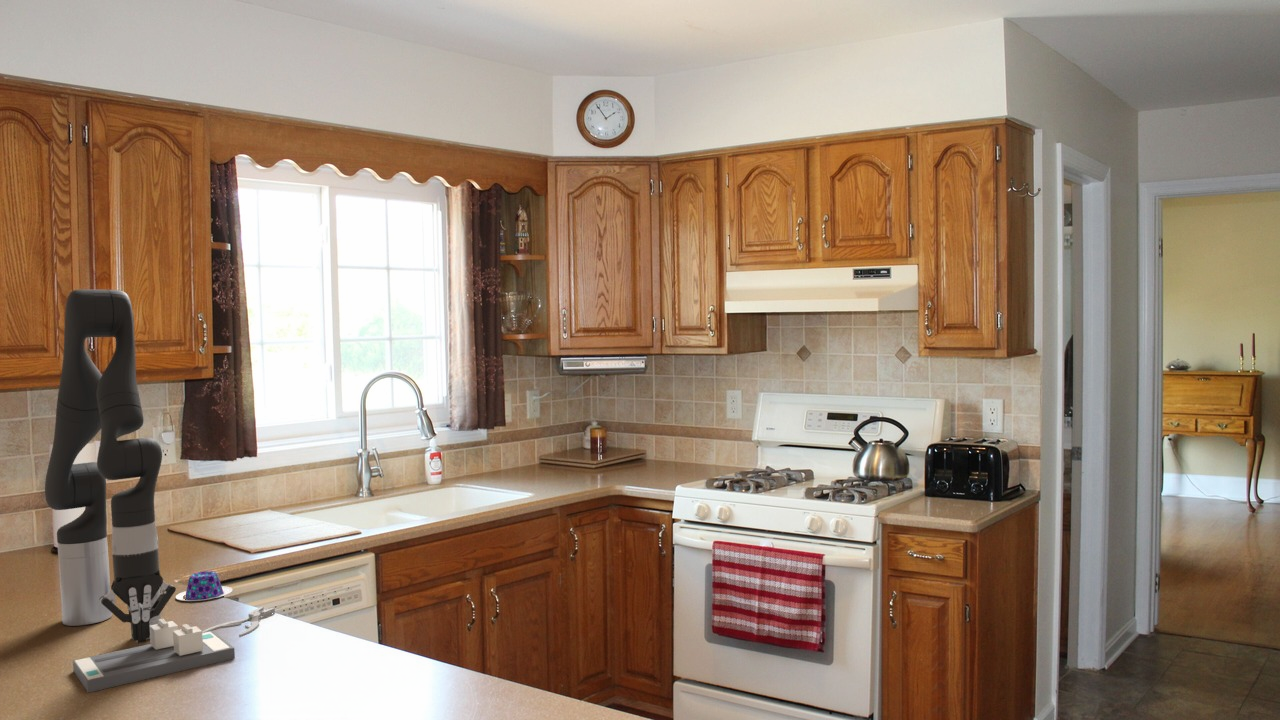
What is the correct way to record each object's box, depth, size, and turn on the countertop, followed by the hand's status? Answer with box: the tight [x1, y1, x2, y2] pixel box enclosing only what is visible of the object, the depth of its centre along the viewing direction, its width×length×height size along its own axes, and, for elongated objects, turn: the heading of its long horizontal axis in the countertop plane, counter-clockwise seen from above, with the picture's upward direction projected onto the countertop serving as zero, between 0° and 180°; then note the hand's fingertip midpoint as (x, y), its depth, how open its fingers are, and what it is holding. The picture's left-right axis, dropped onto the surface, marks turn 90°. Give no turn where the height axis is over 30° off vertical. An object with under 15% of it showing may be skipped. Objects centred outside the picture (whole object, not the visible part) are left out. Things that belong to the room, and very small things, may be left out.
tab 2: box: [173, 623, 203, 656], centre depth 183 cm, size 4×4×4 cm
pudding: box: [175, 570, 234, 602], centre depth 230 cm, size 12×12×5 cm
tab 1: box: [149, 618, 179, 650], centre depth 187 cm, size 4×4×4 cm
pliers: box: [201, 606, 276, 637], centre depth 207 cm, size 10×2×15 cm
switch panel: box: [72, 630, 236, 694], centre depth 183 cm, size 14×24×2 cm, turn 128°
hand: (140, 641), depth 185 cm, fingers closed
